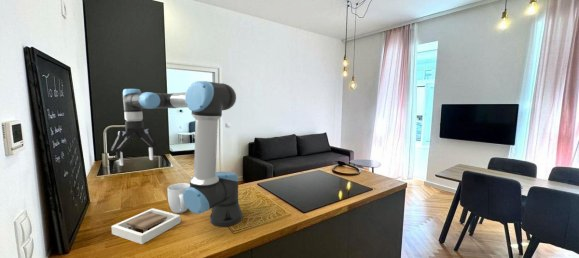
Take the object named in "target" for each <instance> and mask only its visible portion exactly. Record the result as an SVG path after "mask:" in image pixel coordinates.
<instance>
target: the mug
mask: <svg viewBox="0 0 579 258" xmlns="http://www.w3.org/2000/svg"><path fill="white" fill-rule="evenodd" d="M189 187H190V183H188V182H180V183H175V184H171V185H169V186H167V199H168V200H167V201H168V205H169V208H170V210H171V211H172V212H173V214H182V213H184V212H185V213H186V212H187V211H188V210H189V209H188V208H187V206H186V205H185V203H184V200H183V193H184V191H185V190H186V189H187V188H189Z"/></svg>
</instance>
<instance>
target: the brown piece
mask: <svg viewBox="0 0 579 258" xmlns="http://www.w3.org/2000/svg"><path fill="white" fill-rule="evenodd" d="M165 219H167V216H163V215H160V214H156V213H152V212H149V213H147V214H145V215H143V216H141V217H138V218H136V219H134V220H132V221H129V222H127V225H129V226H131V227H130V230H133V231H136V229H139V230H142V232H143V233H144V232H146V231H148V229H149V228H152V227H153V226H155V225H157V224H161V223H163V222H165V221H166V220H165Z"/></svg>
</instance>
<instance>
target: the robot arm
mask: <svg viewBox="0 0 579 258" xmlns="http://www.w3.org/2000/svg"><path fill="white" fill-rule="evenodd" d="M236 101H237V94H236V91H235V89H234V88H233V87H232V86H230V85H229V84H227V83H222V82H221V83H220V82H213V81H208V80H201V81H200V80H197V81H195V82H192V83H191V84H190V85H189V86H188V88H187V89H186V91H185V92H173V93H172V92H171V93H160V92H150V91H145V92H142V91H141V89H138V88H124V89H123V90H122V103H123V111H124V112H123V113H124V120H125V121H124V127H125V128H124V129H125V131H120V130H118V131H117V136H116V138H115V140H114V142H113V144H112V146H111V149H110V151H111V152H114V153H115V154H116V159H118V161H119V163H118V165H119V166H121V167H122V166H124V157H123V151H122V150H123V149H124V147H125V146H126V145H127V144H128V143H129V142H130V141H131V140H140V139H141V140H142V141H143V142H145V143H146V144H147V145H148V146H149V147H148V157H149V160H150V161H154V154H155V148H156V147H158V146H159V143H158V142H157V140H156V139H155V137H154V135H153V134H152V131H151V129H150V128H145V129H144V121H143V119H144V117H143V115H144V114H143V109H147V110H151V109H179V108H183V109H184V108H188V109H189V110H190V111H191V116H192V117H193V118H194V121H195V124H194V125H195V127H194V128H195V129H194V130H195V131H194V158H193V159H194V160H193V161H194V162H193V163H194V164H193V166H194V167H193V168H194V169H193V176H192V177H191V178H189V184H190V187H189V188H187V189H186V190H185V191H184V193H183V200H184V203H185V205H186V206H187V208H188V209H187V210H189V211H190V212H191V213H193V214H196V215H197V214H203V213H205V212H208V211H209V210H210V209H211V212H210V216H209V222H210V224H211V225H212V226H215V227H230V226H233V225H236V224H238V223H240V221H242V219H243V212H242V209H241V206H240V202H239V177H238V174H237V173H236V172H234V171H216V170H217V148H218V147H217V146H218V122H219V119H221V118H222V116H223V111H227V110H230V109H231V108H233V106H234V105H235V104H236ZM145 134H146V135H147V137H148V138H149V139H148V138H147V137H146V136H145ZM124 135H126V136H125V137H124ZM123 137H124V140H122V139H123ZM121 141H122V142H121Z"/></svg>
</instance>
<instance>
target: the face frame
mask: <svg viewBox="0 0 579 258" xmlns="http://www.w3.org/2000/svg"><path fill="white" fill-rule="evenodd" d="M149 212H152V213H156V214H160V215H163V216H167V219H165V220H164V222H163V223H161V224H160V223H158V225H157V224H156V226H154V227H151V228H150V229H149V230H148V229H147V230H148V231H146V232H144V233H142V232H139V231H136V230H135V231H133V230H131V226H129V225H127V222H129V221H132V220H134V219H136V218H138V217H141V216H143V215H145V214H147V213H149ZM181 221H182V220H181V215H180V214H178V213H174V212H173V213H172V212H168V211H165V210H162V209H157V208H154V207H151V208H150V209H147V210H145V211H143V212H140V213H139V214H138V213H137V214H135V215H134V216H132V217H130V218H127V219H124V220H123V221H120V222H117V223H115V224H113V225H111V226H110V227H111V235H114V236H117V237H120V238H122V239H126V240H128V241H132V242H134V243H136V244H140V245H144V244H146V243H147V242H149V241H151V240H152V239H154V238H156V237H158V236H159V235H161V234H164V232H166V231H168V230H170V229H172V228H174V227H175V226H177V225H179V224H180V223H182V222H181Z"/></svg>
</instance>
